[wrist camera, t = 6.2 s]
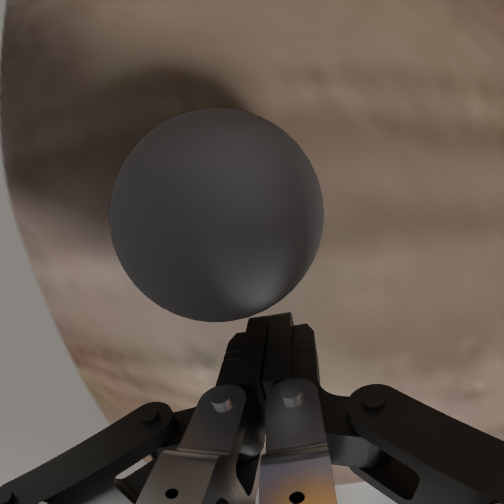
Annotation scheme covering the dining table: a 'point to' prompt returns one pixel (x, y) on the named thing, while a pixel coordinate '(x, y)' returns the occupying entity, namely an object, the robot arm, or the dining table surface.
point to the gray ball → (216, 214)
